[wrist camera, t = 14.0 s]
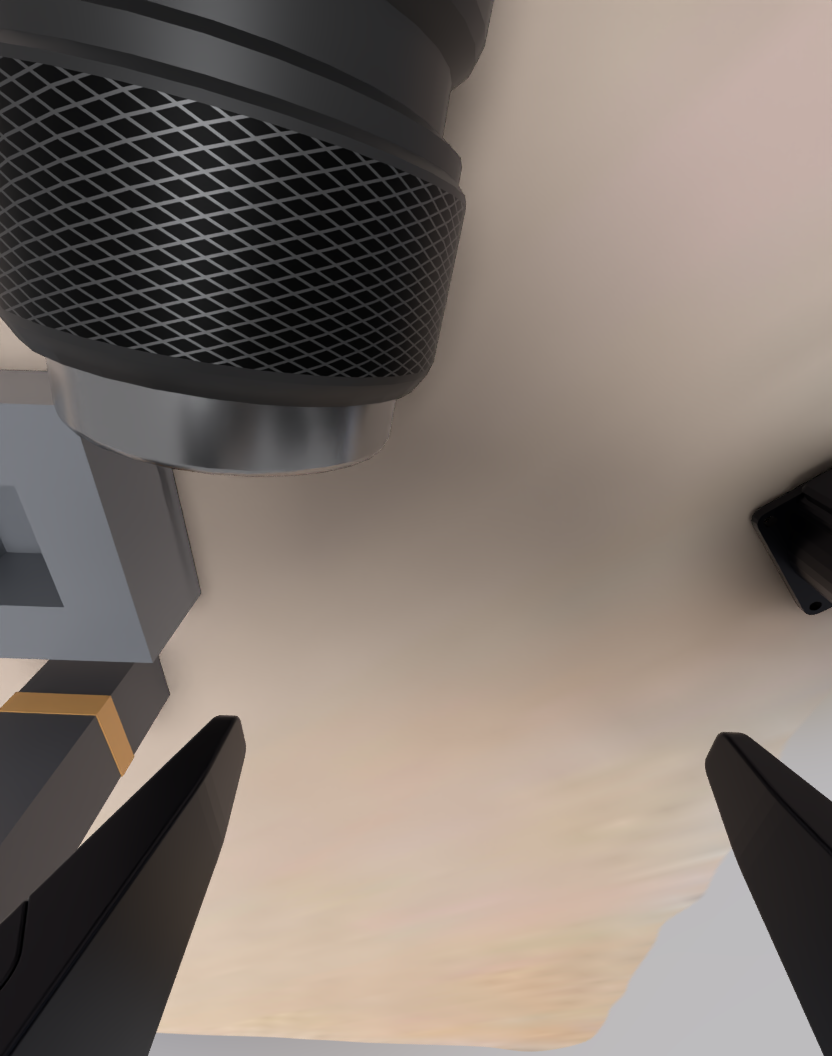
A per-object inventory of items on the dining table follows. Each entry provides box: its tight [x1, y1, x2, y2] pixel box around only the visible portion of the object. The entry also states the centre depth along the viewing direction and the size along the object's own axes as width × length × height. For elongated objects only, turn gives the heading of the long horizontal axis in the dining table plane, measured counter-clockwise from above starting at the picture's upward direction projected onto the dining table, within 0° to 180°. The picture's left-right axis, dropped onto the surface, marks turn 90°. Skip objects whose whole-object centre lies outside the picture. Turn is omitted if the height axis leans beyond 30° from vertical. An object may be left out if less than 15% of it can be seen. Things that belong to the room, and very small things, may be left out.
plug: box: [0, 656, 170, 923], centre depth 20 cm, size 4×4×11 cm
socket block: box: [0, 370, 201, 663], centre depth 18 cm, size 10×10×4 cm
